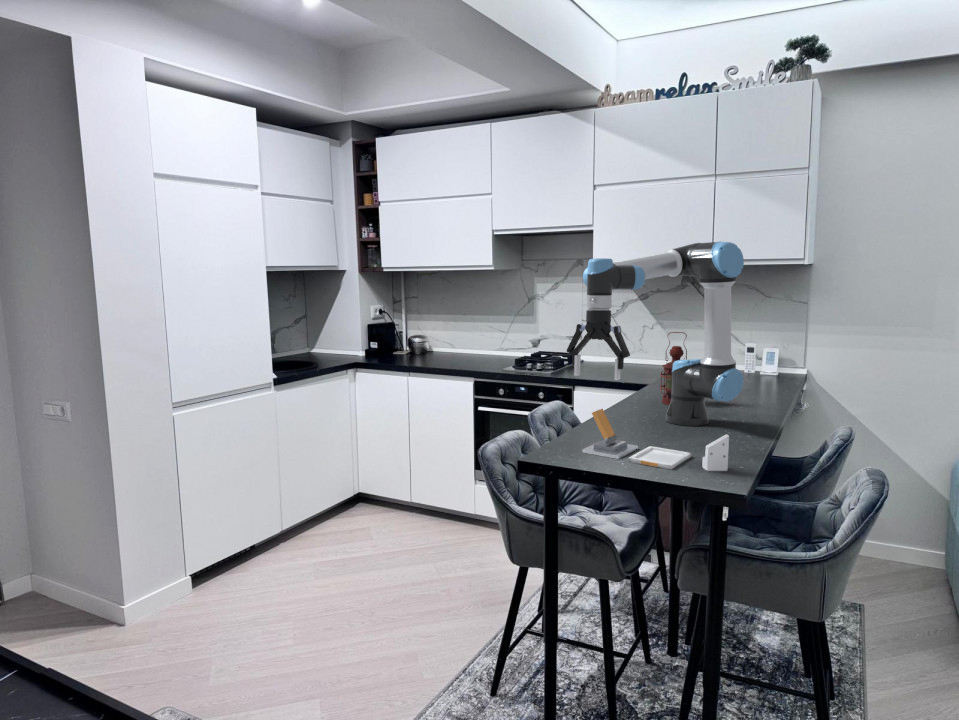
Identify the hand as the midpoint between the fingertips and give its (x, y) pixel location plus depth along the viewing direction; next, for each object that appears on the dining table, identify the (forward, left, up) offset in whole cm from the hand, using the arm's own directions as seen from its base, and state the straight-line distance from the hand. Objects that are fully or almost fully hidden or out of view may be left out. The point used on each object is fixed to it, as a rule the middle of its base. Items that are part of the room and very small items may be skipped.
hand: (596, 377), depth 207 cm
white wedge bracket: (0, +37, -23) cm, 44 cm away
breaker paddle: (0, +5, -19) cm, 19 cm away
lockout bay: (0, +21, -22) cm, 31 cm away
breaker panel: (0, +5, -22) cm, 23 cm away
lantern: (-83, -6, -23) cm, 86 cm away
